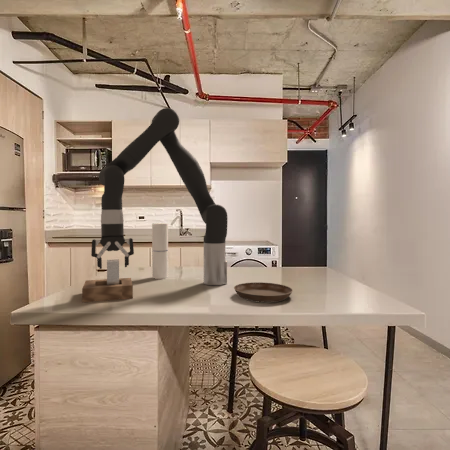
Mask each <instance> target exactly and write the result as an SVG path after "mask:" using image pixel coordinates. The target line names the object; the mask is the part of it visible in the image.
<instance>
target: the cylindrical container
mask: <svg viewBox="0 0 450 450" xmlns="http://www.w3.org/2000/svg"><path fill="white" fill-rule="evenodd" d="M151 239H152V240H151V242H152V243H151V245H152V246H151V247H152V248H151V249H152V250H151V252H152V255H151V257H152V259H151V260H152V261H151V262H152V264H151V265H152V266H151V267H152V270H151V271H152V272H151V274H152V276H151V277H152V279H153V278H155V280H165V279H164V278H166V279H169V223H163V222H161V223H159V222H158V223H157V222H156V223H152V224H151Z"/></svg>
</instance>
